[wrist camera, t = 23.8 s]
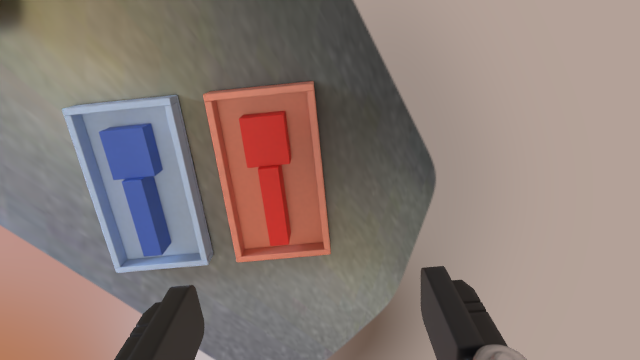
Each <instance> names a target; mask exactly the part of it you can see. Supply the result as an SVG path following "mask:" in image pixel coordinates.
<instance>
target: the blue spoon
mask: <svg viewBox="0 0 640 360" xmlns="http://www.w3.org/2000/svg"><path fill="white" fill-rule="evenodd" d="M99 135H100V138H101V141H102V145H103V148H104V151H105V154H106V158H107V161H108V164H109V167H110V171H111V174H112V177H113V180H121V179H125V180H123V181H122V185H123V189H124V192H125V195H126V199H127V202H128V205H129V209H130V212H131V215H132V219H133V222H134V225H135V229H136V232H137V235H138V239H139V242H140V245H141V249H142V252H143V255H144V257H146V256H158V255H163V253H164V252H165V251H166V249H167V248H168V247H169V245H170V244H171V239H170V235H169V231H168V228H167V224H166V220H165V217H164V213H163V209H162V205H161V202H160V198H159V194H158V190H157V187H156V183H155V179H154V176H156V175H157V174H158V173H160V172H161V171H162V170H163V168H162V164H161V160H160V156H159V152H158V149H157V145H156V141H155V137H154V133H153V129H152V125H151V123H148V124H138V125H128V126H118V127H109V128H107V129H104V130H102V131H100V132H99Z"/></svg>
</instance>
